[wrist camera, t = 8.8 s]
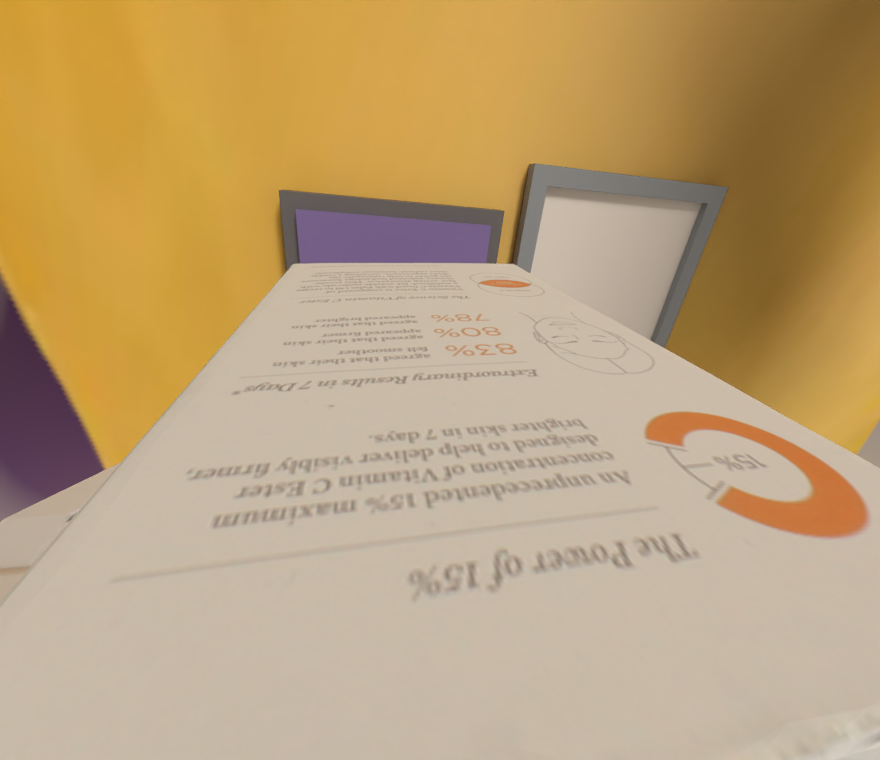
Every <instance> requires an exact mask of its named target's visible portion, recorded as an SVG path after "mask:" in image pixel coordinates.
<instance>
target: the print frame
mask: <svg viewBox="0 0 880 760" xmlns="http://www.w3.org/2000/svg"><path fill="white" fill-rule="evenodd" d="M728 188H729V187H722V186H714V185H706V184H698V183H690V182H682V181H673V180H665V179H657V178H649V177H641V176H632V175H624V174H616V173H608V172H600V171H592V170H583V169H575V168H567V167H559V166H551V165H542V164H530V165H529V170H528V176H527V182H526V188H525V193H524V199H523V205H522V211H521V216H520V222H519V228H518V234H517V239H516V245H515V251H514V257H513V262H512V264H515V265H517V266H518V267H520V268H522V269H523V270H525V271H527V272H528V273H530V274H532V275H534V276H535V277H537V278H539V279H541V280H543V281H544V282H546V283H548V284H550V285H551V286H553V287H555V288H557V289H559V290H560V291H562V292H564V293H566V294H568V295H569V296H571V297H573V298H575V299H577V300H578V301H580V302H582V303H584V304H586V305H587V306H589V307H591V308H593V309H595V310H596V311H598V312H600V313H602V314H604V315H605V316H607V317H609V318H611V319H613V320H615V321H616V322H618V323H620V324H622V325H624V326H625V327H627V328H629V329H631V330H633V331H634V332H636V333H638V334H640V335H642V336H643V337H645V338H647V339H649V340H651V341H652V342H654V343H656V344H658V345H660V346H661V347H663V348H665V346H666V343H667V341H668V338H669V336H670V333H671V331H672V328H673V325H674V323H675V320H676V318H677V315H678V313H679V310H680V308H681V305H682V303H683V300H684V298H685V295H686V293H687V290H688V288H689V285H690V283H691V280H692V278H693V275H694V273H695V270H696V268H697V265H698V263H699V260H700V258H701V255H702V253H703V250H704V248H705V245H706V243H707V240H708V238H709V235H710V233H711V230H712V228H713V225H714V223H715V220H716V218H717V215H718V213H719V210H720V208H721V205H722V203H723V200H724V198H725V195H726V193H727V190H728Z"/></svg>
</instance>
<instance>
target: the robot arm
mask: <svg viewBox="0 0 880 760" xmlns="http://www.w3.org/2000/svg"><path fill="white" fill-rule="evenodd" d="M119 464H120V463H119ZM119 464H117V465H115V466H113V467H110V468H108V469H106V470H104V471H102V472H100V473H98V474H97V475H94V476H92V477H90V478H88V479H86V480H84V481H82V482H80V483H78V484H75V485H73V486H71V487H69V488H67V489H65V490H63V491H61V492H59V493H57V494H55V495H53V496H51V497H49V498H47V499H45V500H43V501H40V502H38V503H36V504H34V505H32V506H30V507H28V508H26V509H24V510H22V511H20V512H18V513H16V514H14V515H12V516H9V517H8V518H5V519H4V520H2V521H1V522H0V601H1V600H2V599H3V598H4V597H5V595H6V594H7V593H8V592H9V591H10V590H11V588H12V587H13V586H14V585H15V584H16V583H17V582H18V580H19V579H20V578H21V577H22V576H23V575H24V574H25V572H26V571H27V570H28V569H29V568H30V567H31V565H32V564H33V563H34V562H35V561H36V560H37V559H38V557H39V556H40V555H41V554H42V553H43V552H44V551H45V549H46V548H47V547H48V546H49V545H50V544H51V542H52V541H53V540H54V539H55V538H56V537H57V536H58V534H59V533H60V532H61V531H62V530H63V529H64V528H65V526H66V525H67V524H68V523H69V522H70V521H71V519H72V518H73V517H74V516H75V515H76V514H77V513H78V511H79V510H80V509H81V508H82V507H83V506H84V505H85V503H86V502H87V501H88V500H89V499H90V498H91V497H92V495H93V494H94V493H95V492H96V491H97V490H98V488H99V487H100V486H101V485H102V484H103V483H104V482H105V480H106V479H107V478H108V477H109V476H110V475H111V474H112V472H113V471H114V470H115V469H116V468H117V467H118V465H119Z"/></svg>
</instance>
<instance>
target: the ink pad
mask: <svg viewBox="0 0 880 760" xmlns="http://www.w3.org/2000/svg"><path fill="white" fill-rule="evenodd" d="M279 197H280V207H281V217H282V227H283V237H284V247H285V257H286V266H287V270H288V269H289V268H290V267H291V265H292V264H308V263H488V264H496V262H497V255H498V249H499V242H500V236H501V229H502V223H503V216H504V211H501V210H494V209H483V208H472V207H462V206H451V205H440V204H430V203H419V202H408V201H397V200H387V199H376V198H365V197H355V196H344V195H333V194H323V193H312V192H301V191H290V190H279Z"/></svg>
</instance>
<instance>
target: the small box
mask: <svg viewBox="0 0 880 760" xmlns="http://www.w3.org/2000/svg"><path fill="white" fill-rule="evenodd" d="M0 760H880V468H878V467H877V466H875V465H873V464H871V463H870V462H868V461H866V460H864V459H862V458H861V457H859V456H857V455H855V454H854V453H852V452H850V451H848V450H846V449H845V448H843V447H841V446H839V445H837V444H835V443H834V442H832V441H830V440H828V439H826V438H824V437H822V436H821V435H819V434H817V433H815V432H813V431H811V430H809V429H808V428H806V427H804V426H802V425H800V424H798V423H796V422H795V421H793V420H791V419H789V418H787V417H786V416H784V415H782V414H780V413H779V412H777V411H775V410H773V409H772V408H770V407H768V406H766V405H765V404H763V403H761V402H759V401H758V400H756V399H754V398H752V397H751V396H749V395H747V394H745V393H744V392H742V391H740V390H738V389H737V388H735V387H733V386H731V385H730V384H728V383H726V382H724V381H722V380H721V379H719V378H717V377H715V376H713V375H712V374H710V373H708V372H706V371H704V370H703V369H701V368H699V367H697V366H695V365H694V364H692V363H690V362H688V361H687V360H685V359H683V358H681V357H679V356H678V355H676V354H674V353H672V352H670V351H669V350H667V349H665V348H663V347H661V346H660V345H658V344H656V343H654V342H652V341H651V340H649V339H647V338H645V337H643V336H642V335H640V334H638V333H636V332H634V331H633V330H631V329H629V328H627V327H625V326H624V325H622V324H620V323H618V322H616V321H615V320H613V319H611V318H609V317H607V316H605V315H604V314H602V313H600V312H598V311H596V310H595V309H593V308H591V307H589V306H587V305H586V304H584V303H582V302H580V301H578V300H577V299H575V298H573V297H571V296H569V295H568V294H566V293H564V292H562V291H560V290H559V289H557V288H555V287H553V286H551V285H550V284H548V283H546V282H544V281H543V280H541V279H539V278H537V277H535V276H534V275H532V274H530V273H528V272H527V271H525V270H523V269H522V268H520V267H518V266H517V265H515V264H488V263H308V264H292V265H291V267H290V268H289V269H288V270H287V271H286V273H285V274H284V275H283V276H282V277H281V278H280V280H279V281H278V282H277V283H276V284H275V285H274V286H273V288H272V289H271V290H270V291H269V292H268V294H267V295H266V296H265V297H264V298H263V299H262V300H261V302H260V303H259V304H258V305H257V306H256V307H255V308H254V310H253V311H252V312H251V313H250V314H249V315H248V317H247V318H246V319H245V320H244V321H243V322H242V323H241V325H240V326H239V327H238V328H237V329H236V331H235V332H234V333H233V334H232V335H231V336H230V337H229V338H228V340H227V341H226V342H225V343H224V345H223V346H222V347H221V348H220V349H219V350H218V351H217V352H216V354H215V355H214V356H213V357H212V358H211V359H210V361H209V362H208V363H207V364H206V365H205V366H204V368H203V369H202V370H201V371H200V372H199V373H198V374H197V376H196V377H195V378H194V379H193V380H192V381H191V383H190V384H189V385H188V386H187V387H186V388H185V389H184V391H183V392H182V393H181V394H180V395H179V396H178V398H177V399H176V400H175V401H174V402H173V403H172V404H171V406H170V407H169V408H168V409H167V410H166V411H165V413H164V414H163V415H162V416H161V417H160V418H159V419H158V421H157V422H156V423H155V424H154V425H153V426H152V428H151V429H150V430H149V431H148V432H147V433H146V434H145V436H144V437H143V438H142V439H141V440H140V441H139V442H138V444H137V445H136V446H135V447H134V448H133V449H132V451H131V452H130V453H129V454H128V455H127V456H126V457H125V459H124V460H123V461H122V462H121V463H120V464H119V465H118V467H117V468H116V469H115V470H114V471H113V472H112V474H111V475H110V476H109V477H108V478H107V479H106V480H105V482H104V483H103V484H102V485H101V486H100V487H99V488H98V490H97V491H96V492H95V493H94V494H93V495H92V497H91V498H90V499H89V500H88V501H87V502H86V503H85V505H84V506H83V507H82V508H81V509H80V510H79V511H78V513H77V514H76V515H75V516H74V517H73V518H72V519H71V521H70V522H69V523H68V524H67V525H66V526H65V528H64V529H63V530H62V531H61V532H60V533H59V534H58V536H57V537H56V538H55V539H54V540H53V541H52V542H51V544H50V545H49V546H48V547H47V548H46V549H45V551H44V552H43V553H42V554H41V555H40V556H39V557H38V559H37V560H36V561H35V562H34V563H33V564H32V565H31V567H30V568H29V569H28V570H27V571H26V572H25V574H24V575H23V576H22V577H21V578H20V579H19V580H18V582H17V583H16V584H15V585H14V586H13V587H12V588H11V590H10V591H9V592H8V593H7V594H6V595H5V597H4V598H3V599H2V600H1V601H0Z"/></svg>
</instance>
